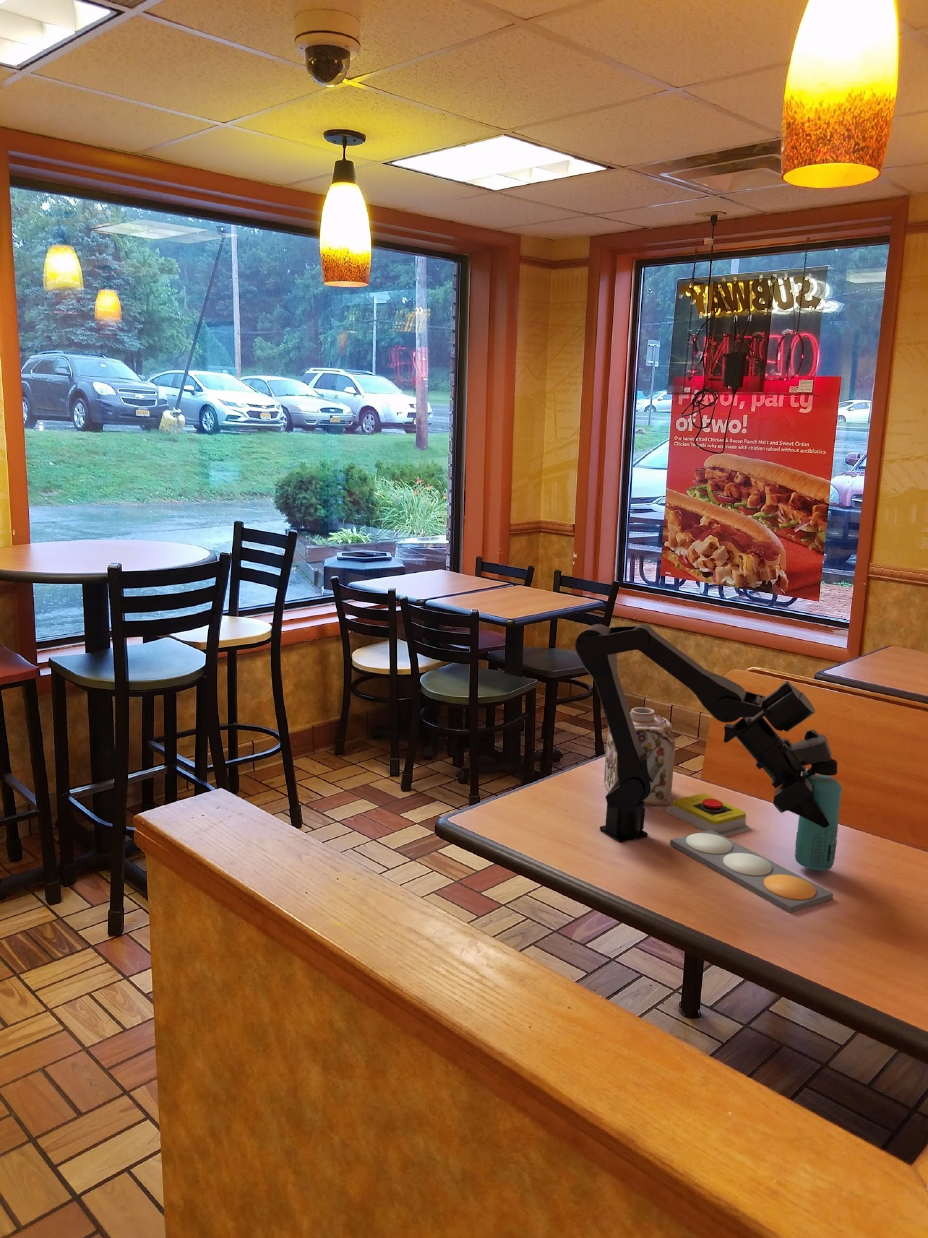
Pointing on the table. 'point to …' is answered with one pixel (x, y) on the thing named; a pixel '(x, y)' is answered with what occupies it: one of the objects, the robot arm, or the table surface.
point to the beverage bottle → (812, 838)
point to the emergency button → (709, 814)
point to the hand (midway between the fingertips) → (827, 819)
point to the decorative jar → (651, 737)
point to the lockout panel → (752, 871)
